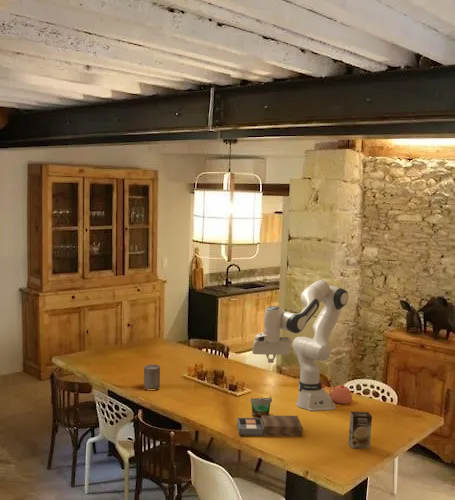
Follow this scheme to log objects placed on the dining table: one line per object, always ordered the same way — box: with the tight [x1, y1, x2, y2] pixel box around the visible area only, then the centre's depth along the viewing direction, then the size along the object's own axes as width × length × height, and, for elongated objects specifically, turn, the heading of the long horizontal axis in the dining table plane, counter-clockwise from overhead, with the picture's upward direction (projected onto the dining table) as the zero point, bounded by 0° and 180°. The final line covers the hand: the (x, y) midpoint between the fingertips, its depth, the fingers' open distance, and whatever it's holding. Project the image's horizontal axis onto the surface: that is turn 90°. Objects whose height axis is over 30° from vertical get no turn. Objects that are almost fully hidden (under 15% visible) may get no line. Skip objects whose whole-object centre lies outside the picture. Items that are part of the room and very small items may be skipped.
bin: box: [236, 417, 265, 437], centre depth 304 cm, size 12×15×4 cm
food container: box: [249, 396, 273, 418], centre depth 323 cm, size 12×6×10 cm, turn 105°
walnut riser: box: [261, 414, 303, 437], centre depth 304 cm, size 19×15×5 cm
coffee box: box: [348, 410, 373, 449], centre depth 288 cm, size 9×6×16 cm
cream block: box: [246, 425, 257, 428], centre depth 300 cm, size 5×5×2 cm
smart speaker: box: [143, 364, 161, 390], centre depth 364 cm, size 10×10×15 cm
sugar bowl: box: [328, 384, 353, 405], centre depth 351 cm, size 12×14×10 cm
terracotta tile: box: [245, 420, 256, 425], centre depth 307 cm, size 5×5×2 cm
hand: (270, 362), depth 317 cm, fingers closed
